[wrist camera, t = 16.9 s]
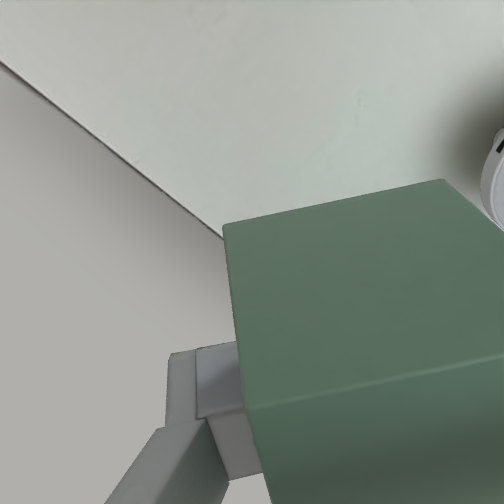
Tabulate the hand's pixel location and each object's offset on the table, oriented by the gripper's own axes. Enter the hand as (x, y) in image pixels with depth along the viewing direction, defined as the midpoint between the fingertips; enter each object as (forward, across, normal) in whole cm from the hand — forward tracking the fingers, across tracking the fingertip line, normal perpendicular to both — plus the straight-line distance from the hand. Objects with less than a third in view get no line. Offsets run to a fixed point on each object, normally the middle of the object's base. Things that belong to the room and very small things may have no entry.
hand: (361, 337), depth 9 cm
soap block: (+2, 0, 0) cm, 2 cm away
